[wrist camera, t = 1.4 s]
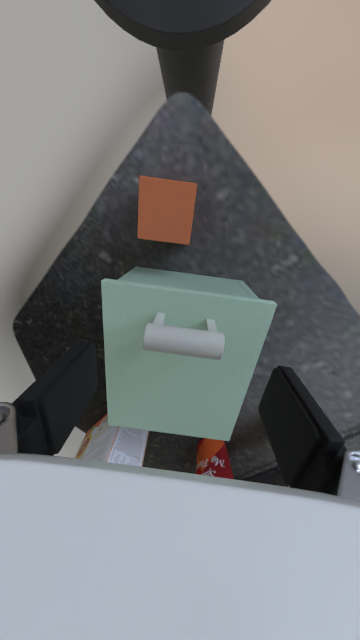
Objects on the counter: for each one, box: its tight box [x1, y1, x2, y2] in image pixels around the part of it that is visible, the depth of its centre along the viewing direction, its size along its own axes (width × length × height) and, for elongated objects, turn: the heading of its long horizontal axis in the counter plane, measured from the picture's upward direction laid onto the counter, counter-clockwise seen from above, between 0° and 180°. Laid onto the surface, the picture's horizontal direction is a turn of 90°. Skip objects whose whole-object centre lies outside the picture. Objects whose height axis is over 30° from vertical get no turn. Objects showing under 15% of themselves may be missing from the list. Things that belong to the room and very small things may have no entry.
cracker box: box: [75, 413, 149, 467], centre depth 28 cm, size 14×6×21 cm, turn 137°
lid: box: [101, 278, 277, 441], centre depth 17 cm, size 16×14×5 cm
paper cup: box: [196, 438, 233, 479], centre depth 33 cm, size 8×8×14 cm
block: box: [138, 176, 197, 245], centre depth 20 cm, size 5×5×5 cm
